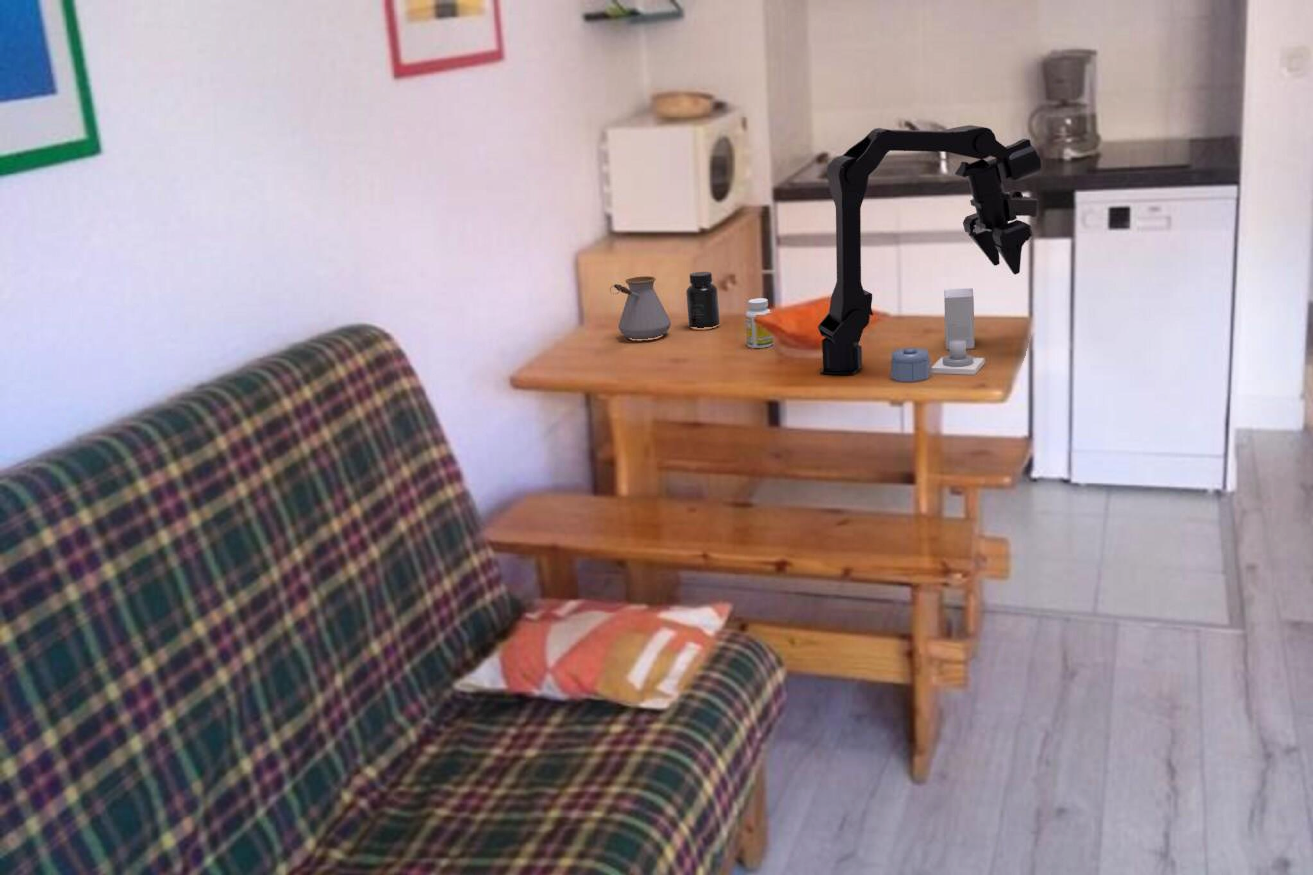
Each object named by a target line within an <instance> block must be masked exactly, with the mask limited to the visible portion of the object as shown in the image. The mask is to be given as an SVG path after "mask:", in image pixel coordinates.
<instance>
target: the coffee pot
mask: <svg viewBox="0 0 1313 875" xmlns="http://www.w3.org/2000/svg"><path fill="white" fill-rule="evenodd" d="M656 280H657V279H656V277H655V276H647V275H646V276H635V277H629V278H627V279H625V281H624V282H625V283H626V284H627V285H628V288H627V287H626V286H622V285H621V284H613V285H612V286H610V288H609V292H610V293H611V294H613V295H614V292H612V291H611V290H612V288H614V289H616V290H617V291H618V292H615V295H618V294H619V293H620V292H621V293H623V294H626V295H627V298H626V301H625V303H624V307H623V310H622V313H621V317H620V320H619V323H618V329H619V331H620V333H621V334H622V335H623V336H624V337H626V338H632V339H648V338H655V337H658V336H661V335H663V336H664V334H666V333H667V332H668V331H669V330H670V327H671V324H672V322H671V319H670V317H669V315H668V313H667V311H666V309H665V308H664V306H663V303H662V302H661V300H660V298H659V296H658V294H657V292H656V290H655V288H654V284H655V283H654V282H655V281H656Z"/></svg>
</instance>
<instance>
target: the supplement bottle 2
mask: <svg viewBox="0 0 1313 875" xmlns="http://www.w3.org/2000/svg"><path fill="white" fill-rule="evenodd" d="M747 303H748V304H747V305H748V308H749V309H748V310H747V311H746V312H745V328H746V331H745V332H746V343H747V344H746V345H747V347H748V348H750V347H751V348H750V349H754V348H760V349H766V348H765V347H768V348H770V347H771V346H770V345H772V344H773V345H774V335H773V336H772V335H771V334H770V333H768V332H767V331H765V330H764V329H762V327H760V326H758V325H757V324H756V323H755V322H754V317H756V315H765V314H767V313H772V311H771V310H770V309H769V308H768V306H769V300H768V299H767V298H752V299H749V300H748V301H747ZM770 311H771V312H770ZM773 345H772V346H773ZM769 346H770V347H769Z"/></svg>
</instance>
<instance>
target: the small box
mask: <svg viewBox="0 0 1313 875" xmlns="http://www.w3.org/2000/svg"><path fill="white" fill-rule="evenodd" d="M943 298H944V303H943V304H944V334H945V336H944V337H945V339H944V340H945V350H947V351H950V349H949V342H950V341H953V340H964V341H966V350H969V349H975V308H974V307H975V301H974V300H975V299H974V290H973V288H971V287H970V288H967V287H966V288H951V289H949V288H947V289H946V288H945V289H944V297H943Z"/></svg>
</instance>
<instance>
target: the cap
mask: <svg viewBox="0 0 1313 875" xmlns="http://www.w3.org/2000/svg"><path fill="white" fill-rule="evenodd" d="M929 377H931V357H930V356H929V350H928V349H925V348H920V347H919V348H917V347H905V348H900V349H896V350H893V351H892V352H891V359H890V379H893V380H894V381H896V382H902V383H905V382H906V383H915V382H921V381H925V380H928V378H929Z"/></svg>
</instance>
